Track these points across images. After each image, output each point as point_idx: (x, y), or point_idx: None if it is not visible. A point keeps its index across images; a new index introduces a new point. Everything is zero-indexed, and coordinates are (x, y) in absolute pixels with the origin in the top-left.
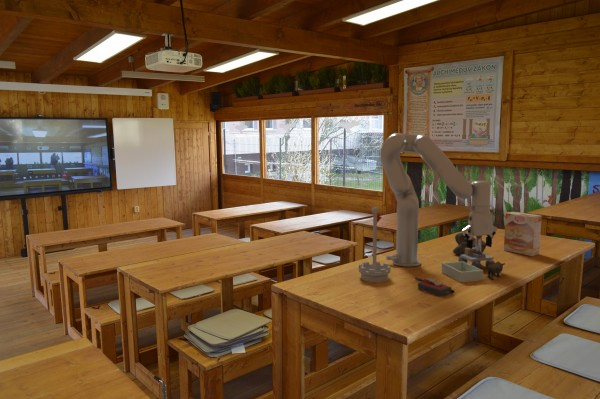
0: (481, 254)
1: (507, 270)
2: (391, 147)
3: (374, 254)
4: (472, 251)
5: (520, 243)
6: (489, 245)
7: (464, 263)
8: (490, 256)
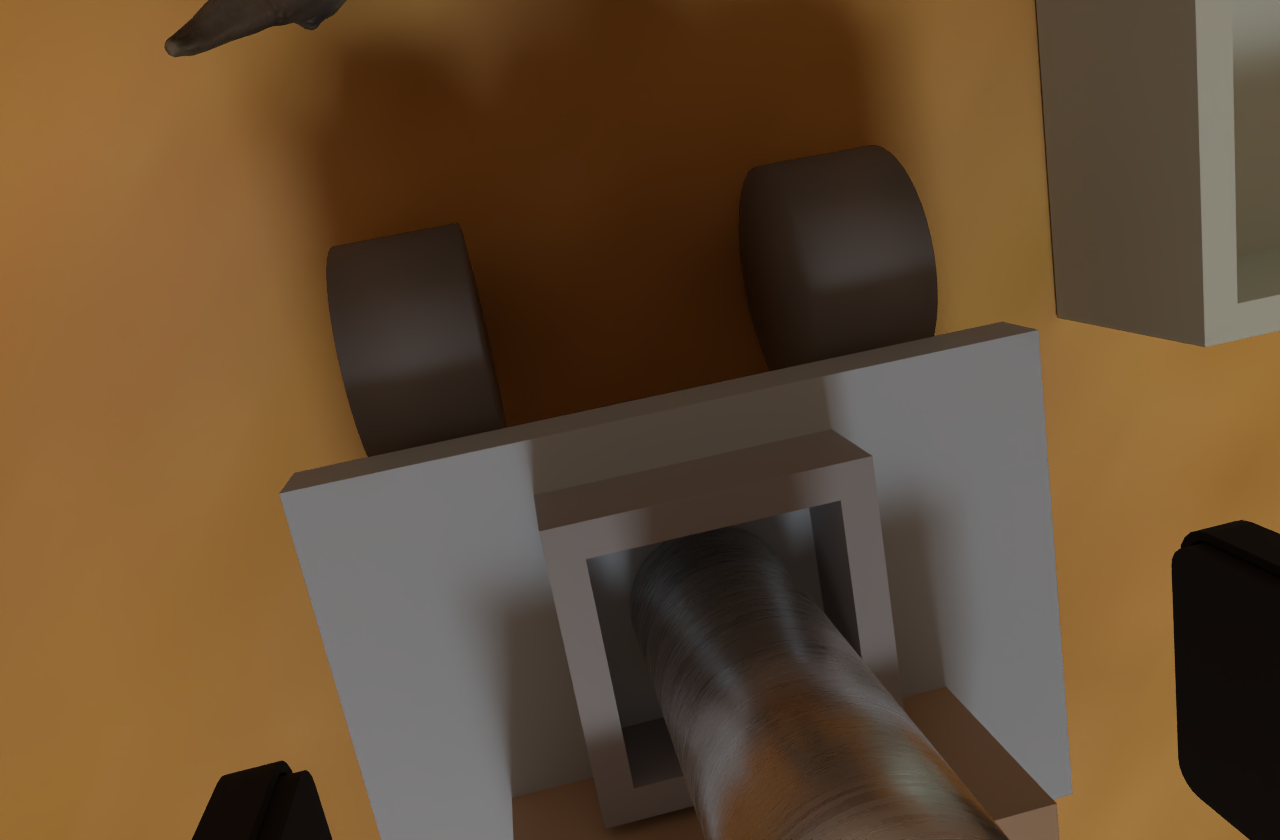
0: (699, 498)
1: (21, 217)
2: None
3: None
4: None
5: None
6: (304, 830)
7: (1216, 208)
8: (322, 597)
